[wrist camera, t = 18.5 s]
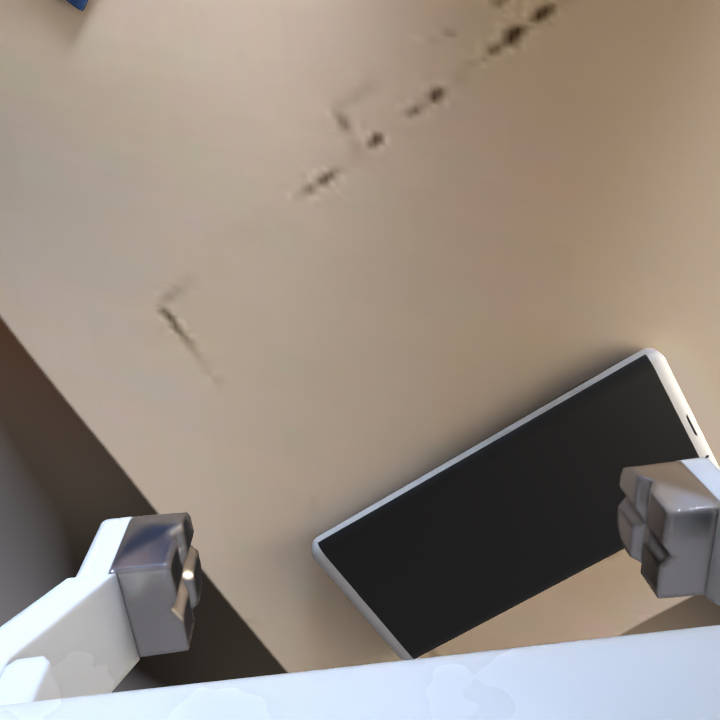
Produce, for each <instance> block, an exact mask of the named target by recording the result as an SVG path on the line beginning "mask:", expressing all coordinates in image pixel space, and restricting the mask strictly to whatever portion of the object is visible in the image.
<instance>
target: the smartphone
mask: <svg viewBox="0 0 720 720" xmlns="http://www.w3.org/2000/svg"><path fill="white" fill-rule="evenodd" d="M700 457H703V458H706V459H709V460H710V461H711V462H712V463H713V464H714V465H715V466H716V467H717V468H718V469H719V470H720V468H719V466H718V464H717V462H716V460H715V458H714V456H713V454H712V452H711V450H710V448H709V446H708V444H707V442H706V440H705V438H704V436H703V434H702V432H701V430H700V428H699V426H698V424H697V422H696V420H695V418H694V416H693V414H692V412H691V410H690V408H689V406H688V404H687V401H686V399H685V397H684V395H683V393H682V391H681V389H680V387H679V385H678V383H677V381H676V379H675V377H674V375H673V373H672V371H671V369H670V367H669V365H668V363H667V361H666V359H665V357H664V356H663V355H662V354H661V353H660V352H658V351H657V350H655V349H653V348H645V349H642V350H640V351H639V352H637V353H635V354H633V355H632V356H630V357H628V358H626V359H625V360H623V361H621V362H619V363H618V364H616V365H614V366H613V367H611V368H609V369H607V370H606V371H604V372H602V373H600V374H599V375H597V376H595V377H593V378H592V379H590V380H588V381H587V382H585V383H583V384H581V385H580V386H578V387H576V388H574V389H573V390H571V391H569V392H567V393H566V394H564V395H562V396H561V397H559V398H557V399H555V400H554V401H552V402H550V403H548V404H547V405H545V406H543V407H541V408H540V409H538V410H536V411H535V412H533V413H531V414H529V415H528V416H526V417H524V418H522V419H521V420H519V421H517V422H516V423H514V424H512V425H510V426H509V427H507V428H505V429H503V430H502V431H500V432H498V433H496V434H495V435H493V436H491V437H490V438H488V439H486V440H484V441H483V442H481V443H479V444H477V445H476V446H474V447H472V448H470V449H469V450H467V451H465V452H464V453H462V454H460V455H458V456H457V457H455V458H453V459H451V460H450V461H448V462H446V463H444V464H443V465H441V466H439V467H438V468H436V469H434V470H432V471H431V472H429V473H427V474H425V475H424V476H422V477H420V478H418V479H417V480H415V481H413V482H412V483H410V484H408V485H406V486H405V487H403V488H401V489H399V490H398V491H396V492H394V493H392V494H391V495H389V496H387V497H386V498H384V499H382V500H380V501H379V502H377V503H375V504H373V505H372V506H370V507H368V508H366V509H365V510H363V511H361V512H360V513H358V514H356V515H354V516H353V517H351V518H349V519H347V520H346V521H344V522H342V523H340V524H339V525H337V526H335V527H334V528H332V529H330V530H328V531H327V532H325V533H323V534H321V535H320V536H318V537H316V538H315V539H314V541H313V543H312V556H313V558H314V559H315V560H316V561H317V563H318V564H319V565H320V566H321V567H322V568H323V570H324V571H325V572H326V573H327V574H328V575H329V577H330V578H331V579H332V580H333V581H334V582H335V583H336V585H337V586H338V587H339V588H340V589H341V590H342V592H343V593H344V594H345V595H346V596H347V597H348V599H349V600H350V601H351V602H352V603H353V604H354V605H355V607H356V608H357V609H358V610H359V611H360V612H361V614H362V615H363V616H364V617H365V618H366V619H367V621H368V622H369V623H370V624H371V625H372V626H373V627H374V629H375V630H376V631H377V632H378V633H379V634H380V636H381V637H382V638H383V639H384V640H385V641H386V642H387V644H388V645H389V646H390V647H391V648H392V649H393V651H394V652H395V653H396V654H397V655H398V656H399V657H400V658H401V659H403V660H411V659H416V658H417V657H419V656H421V655H423V654H425V653H427V652H429V651H431V650H433V649H434V648H436V647H438V646H440V645H442V644H444V643H446V642H448V641H450V640H452V639H453V638H455V637H457V636H459V635H461V634H463V633H465V632H467V631H469V630H470V629H472V628H474V627H476V626H478V625H480V624H482V623H484V622H486V621H488V620H489V619H491V618H493V617H495V616H497V615H499V614H501V613H503V612H505V611H507V610H508V609H510V608H512V607H514V606H516V605H518V604H520V603H522V602H524V601H525V600H527V599H529V598H531V597H533V596H535V595H537V594H539V593H541V592H543V591H544V590H546V589H548V588H550V587H552V586H554V585H556V584H558V583H560V582H561V581H563V580H565V579H567V578H569V577H571V576H573V575H575V574H577V573H579V572H580V571H582V570H584V569H586V568H588V567H590V566H592V565H594V564H596V563H598V562H599V561H601V560H603V559H605V558H607V557H609V556H611V555H613V554H615V553H616V552H618V551H620V550H622V549H624V546H623V544H622V541H621V539H620V536H619V531H618V525H617V511H618V506H619V504H620V503H621V502H622V501H623V500H624V498H625V497H626V495H625V494H624V492H623V491H622V489H621V488H620V487H619V486H620V477H621V473H622V471H623V468H625V467H633V466H642V465H650V464H658V463H667V462H675V461H679V460H686V459H693V458H700Z"/></svg>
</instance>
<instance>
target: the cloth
mask: <svg viewBox="0 0 720 720" xmlns="http://www.w3.org/2000/svg"><path fill="white" fill-rule="evenodd" d="M66 1H68V2H69V3H71V4H72V5H73V6H75V7H76V8H78V9H79V10H82V11H83V9H84V7H85V5H86V4H87V2H88V0H66Z"/></svg>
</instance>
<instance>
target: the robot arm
mask: <svg viewBox="0 0 720 720" xmlns="http://www.w3.org/2000/svg"><path fill="white" fill-rule="evenodd" d="M619 487H620V488H621V489H622V491H623V492H624V494H625V495H626V497H625V498H624V500H623V501H622V502H621V503H620V504H619V506H618V511H617V525H618V531H619V536H620V539H621V541H622V544H623V546H624V548H625V550H626V551H627V553H628V554H629V556H630V557H632V558H634V559H636V560H638V561H640V562H642V565H641V574H642V575H643V577H644V578H645V580H646V581H647V583H648V584H649V586H650V587H651V589H652V590H653V592H654V593H655V595H656V596H657V598H670V597H682V596H695V595H706V597H707V598H708V599H710V600H711V601H713V602H714V603H716V604H717V605H719V606H720V470H719V469H718V468H717V467H716V466H715V465H714V464H713V463H712V462H711V461H710V460H709V459H706V458H703V457H700V458H693V459H686V460H679V461H675V462H667V463H658V464H650V465H642V466H633V467H625V468H623V471H622V473H621V477H620V486H619ZM193 533H194V530H193V526H192V522H191V517H190V516H189V514H188V513H187V512H184V513H172V514H160V515H148V516H136V517H125V518H116V519H107V520H105V521H104V522H102V524H101V525H100V527H99V530H98V532H97V534H96V536H95V538H94V540H93V542H92V544H91V547H90V549H89V551H88V553H87V555H86V557H85V559H84V561H83V563H82V565H81V568H80V570H79V572H78V574H77V576H76V577H75V578H67V579H66V580H65V581H63V582H62V583H61V584H59V585H58V586H57V587H55V588H54V589H52V590H51V591H50V592H48V593H47V594H46V595H44V596H43V597H41V598H40V599H39V600H37V601H36V602H34V603H33V604H32V605H30V606H29V607H27V608H26V609H25V610H23V611H22V612H21V613H19V614H18V615H16V616H15V617H14V618H12V619H11V620H10V621H8V622H7V623H6V624H4V625H3V626H2V627H0V720H720V625H715V626H706V627H697V628H688V629H680V630H671V631H662V632H653V633H644V634H635V635H626V636H617V637H608V638H599V639H590V640H581V641H572V642H563V643H554V644H545V645H537V646H528V647H519V648H510V649H501V650H492V651H483V652H474V653H465V654H456V655H447V656H438V657H429V658H420V659H411V660H402V661H393V662H384V663H375V664H366V665H357V666H349V667H340V668H331V669H322V670H313V671H304V672H295V673H286V674H277V675H269V676H259V677H250V678H241V679H233V680H223V681H214V682H205V683H196V684H188V685H178V686H170V687H161V688H151V689H142V690H134V691H125V692H116V693H111V692H112V691H113V689H114V688H115V687H116V686H117V685H118V684H119V683H120V682H121V680H122V679H123V678H124V677H125V676H126V675H127V673H128V672H129V671H130V670H131V669H132V668H133V667H134V665H135V664H136V663H137V662H138V661H139V657H143V656H150V655H157V654H164V653H172V652H179V651H186V650H189V645H190V640H191V636H192V632H193V627H194V623H195V620H194V616H193V611H192V609H193V608H194V607H195V606H196V605H197V604H198V603H199V598H200V593H201V576H202V574H201V564H200V558H199V553H198V550H196V549H195V548H194V547H193V546H192V545H191V541H192V537H193Z"/></svg>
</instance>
